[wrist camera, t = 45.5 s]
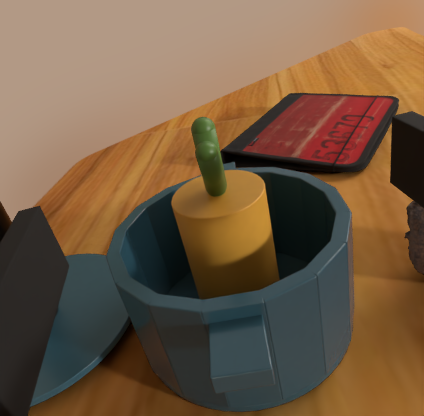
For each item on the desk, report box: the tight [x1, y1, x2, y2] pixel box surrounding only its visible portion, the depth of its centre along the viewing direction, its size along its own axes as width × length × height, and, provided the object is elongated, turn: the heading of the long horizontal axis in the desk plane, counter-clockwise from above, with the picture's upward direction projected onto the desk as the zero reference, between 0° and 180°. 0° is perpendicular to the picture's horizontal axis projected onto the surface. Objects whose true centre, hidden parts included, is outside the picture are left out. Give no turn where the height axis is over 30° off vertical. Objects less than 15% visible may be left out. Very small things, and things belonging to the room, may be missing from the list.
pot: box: [106, 162, 354, 412], centre depth 24 cm, size 14×19×8 cm
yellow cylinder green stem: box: [171, 117, 280, 300], centre depth 22 cm, size 5×5×13 cm
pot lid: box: [0, 202, 131, 407], centre depth 26 cm, size 15×15×11 cm
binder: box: [220, 93, 399, 173], centre depth 49 cm, size 16×2×21 cm
